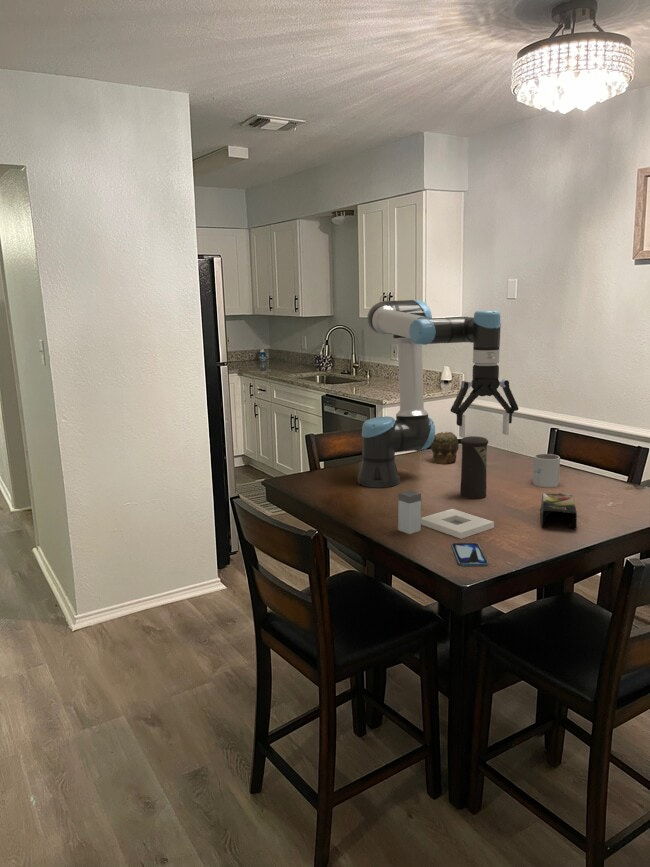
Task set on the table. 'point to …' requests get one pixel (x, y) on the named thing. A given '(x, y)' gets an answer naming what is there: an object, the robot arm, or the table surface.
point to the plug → (409, 512)
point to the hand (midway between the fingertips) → (483, 435)
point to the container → (473, 467)
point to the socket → (457, 523)
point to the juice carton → (558, 506)
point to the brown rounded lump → (445, 448)
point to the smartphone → (469, 554)
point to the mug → (546, 470)
